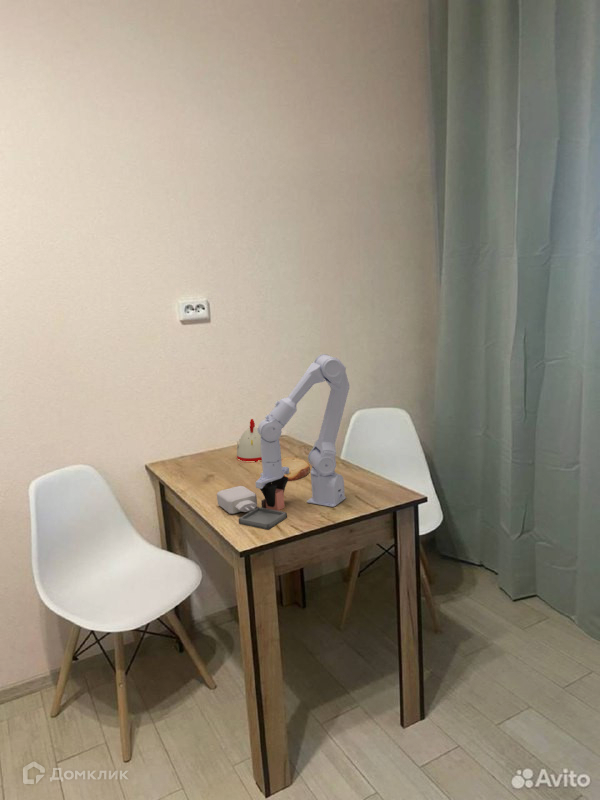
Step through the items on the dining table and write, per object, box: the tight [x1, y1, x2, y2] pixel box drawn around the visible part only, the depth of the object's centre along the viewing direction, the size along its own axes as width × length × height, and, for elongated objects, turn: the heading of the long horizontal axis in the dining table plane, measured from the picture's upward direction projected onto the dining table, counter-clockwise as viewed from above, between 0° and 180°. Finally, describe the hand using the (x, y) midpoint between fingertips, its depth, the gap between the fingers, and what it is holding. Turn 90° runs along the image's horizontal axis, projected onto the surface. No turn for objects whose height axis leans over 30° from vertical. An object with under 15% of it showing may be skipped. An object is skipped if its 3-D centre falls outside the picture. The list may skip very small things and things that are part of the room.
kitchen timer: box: [236, 418, 262, 461], centre depth 225 cm, size 14×14×15 cm
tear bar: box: [260, 498, 266, 508], centre depth 175 cm, size 1×6×3 cm, turn 148°
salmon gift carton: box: [266, 489, 286, 511], centre depth 173 cm, size 4×4×6 cm
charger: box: [216, 485, 258, 515], centre depth 174 cm, size 5×9×15 cm
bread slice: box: [281, 456, 311, 482], centre depth 207 cm, size 18×18×4 cm
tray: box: [238, 506, 288, 531], centre depth 165 cm, size 10×9×2 cm
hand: (275, 503), depth 173 cm, fingers closed on salmon gift carton, 4 cm apart
